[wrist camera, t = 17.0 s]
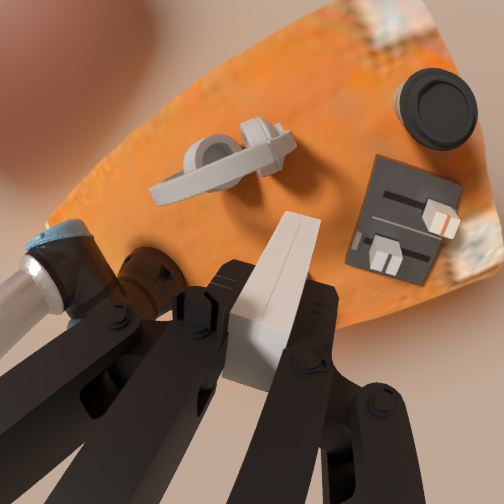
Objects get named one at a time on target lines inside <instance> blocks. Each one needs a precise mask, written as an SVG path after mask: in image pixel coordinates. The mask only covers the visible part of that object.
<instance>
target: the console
mask: <svg viewBox="0 0 504 504" xmlns="http://www.w3.org/2000/svg"><path fill="white" fill-rule="evenodd" d="M462 188H463V186H462V185H461V184H459V183H458V182H455V181H453V180H450V179H448V178H445V177H443V176H440V175H437V174H435V173H432V172H429V171H426V170H424V169H421V168H418V167H415V166H412V165H409V164H406V163H403V162H400V161H397V160H394V159H391V158H388V157H385V156H382V155H378V154H376V157H375V161H374V164H373V168H372V172H371V175H370V179H369V183H368V186H367V190H366V193H365V197H364V200H363V203H362V207H361V210H360V213H359V217H358V220H357V223H356V226H355V229H354V232H353V236H352V239H351V242H350V245H349V248H348V251H347V254H346V257H345V264H348V265H351V266H355V267H358V268H362V269H365V270H369V271H372V272H376V273H379V274H382V275H386V276H389V277H393V278H396V279H400V280H403V281H407V282H410V283H413V284H417V285H420V286H421V285H422V283H423V281H424V279H425V277H426V275H427V273H428V271H429V269H430V266H431V264H432V262H433V260H434V258H435V256H436V253H437V251H438V249H439V247H440V244H441V242H442V240H443V237H444V236H443V237H442V236H440V235H438V234H435V233H432V232H429V231H428V229H427V226H426V224H425V222H424V220H423V218H422V215H423V213H424V210H425V207H426V204H427V202H428V199H431V200H433V201H436V202H439V203H442V204H444V205H447V206H450V207H451V208H452V209H453V210H454V212H455V213H456V212H457V210H456V209H455V207H456V205H457V202H458V199H459V196H460V194H461V191H462ZM375 235H377V236H380V237H384V238H387V239H390V240H394V241H397V242H399V244H400V248H401V252H402V257H403V259H402V262H401V264H400V266H399V269H398V271H397V273H396V275H395V276H394V275H391V274H387V273H381V271H377V270H374V269H370V256H369V251H370V248H371V245H372V243H373V240H374V237H375Z"/></svg>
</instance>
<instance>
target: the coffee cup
mask: <svg viewBox="0 0 504 504" xmlns="http://www.w3.org/2000/svg"><path fill="white" fill-rule="evenodd" d="M393 105H394V110H395V112H396V114H397V116H398V118H399V120H400V121H401V122H402V124H403V125H404V126H405V127H406V129H407V131H408V132H409V133H410V135H411V136H412V137H413V138H414V139H415V140H416V141H417V142H419V143H420V144H422V145H423V146H425V147H427V148H430V149H433V150H438V151H447V150H452V149H455V148H457V147H459V146H461V145H462V144H463V143H464V142H466V141H467V140H468V138H469V137H470V136H471V135H472V133H473V131H474V129H475V126H476V123H477V117H478V109H477V103H476V100H475V97H474V95H473V92H472V91H471V89H470V88H469V86H468V85H467V84H466V83H465V82H464V81H463V80H462V79H461V78H460V77H459V76H457V75H455V74H453V73H451V72H449V71H446V70H443V69H439V68H427V69H422V70H420V71H418V72H416V73H414V74H413V75H412V76H410V77H409V78H408V79H407V80H406V81H405V82H404V83H403V84H402V85H401V86H400V87H399V88H398V89H397V91H396V93H395V95H394V99H393Z"/></svg>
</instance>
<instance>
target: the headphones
mask: <svg viewBox="0 0 504 504" xmlns="http://www.w3.org/2000/svg"><path fill="white" fill-rule="evenodd" d="M240 132H241V135H242V138H243V140H244V143H245V146H246V149H244V150H242V148H241V146H240V145H239V144H238V143H237V141H235V140H234V139H232V138H231V137H229V136H226V135H223V134H213V135H211V136H208V137H206V138H204V139H201V140H199V141H197V142H195V143H194V144H193V145H191V146H190V147H189V148H188V150H187V151H186V153H185V155H184V159H183V170H182V171H180V172H178V173H176V174H174V175H172V176H170V177H168V178H166V179H164V180H162V181H161V182H159V183H157V184H156V185H154V186H153V187H150V188H149V191H150V193H151V196H152V198H153V200H154V202H155V204H156V206H164V205H169V204H172V203H176V202H179V201H182V200H185V199H188V198H191V197H193V196H196V195H199V194H201V193H204V192H208V193H211V192H216V191H221V190H225V189H229V188H231V187H233V186H235V185H237V184H238V182H239V181H240V180H241V179H242V177H243V176H245V175H248V174H250V173H252V172H254V171H257V172H258V174H259V175H260V176H261V177H266V176H268V175H271V174H273V173H276V172H279V171H281V170H282V168H283V163H284V158H285V155H287V154H290V153H291V151H293V150H294V149H295V148H296V147H297V144H296V141H295V138H294V136H293V133H292V131H291V130H288V131H284V129H283V128H282V126H281V125H280V124H279V123H276V124H271V123H269V122H268V121H266V120H265V119H264V118H262V117H260V116H258V117H256V118H252V119H250V120H247V121H244V122H242V123H241V124H240Z"/></svg>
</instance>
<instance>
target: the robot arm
mask: <svg viewBox="0 0 504 504" xmlns="http://www.w3.org/2000/svg"><path fill="white" fill-rule="evenodd" d="M320 223H321V220H319V219H316V218H312V217H308V216H305V215H301V214H297V213H293V212H290V211H285V213H284V215H283V217H282V219H281V220H280V222H279V224H278V226H277V228H276V230H275V231H274V233H273V235H272V237H271V239H270V241H269V242H268V244H267V246H266V248H265V250H264V252H263V253H262V255H261V257H260V259H259V261H258V262H257V264H256V265H252V264H249V263H246V262H242V261H239V260H235V259H233V260H231V261H229V262H227V263H225V264H224V265H222V266H221V268H220V269H219V271H218V272H217V273H216V276H214V278H213V279H212V280H211V283H209V285H208V286H207V287H201V286H189V287H186V286H185V281H184V277H183V275H182V273H181V271H180V269H179V268H178V266H177V265H176V264H175V263H174V262H173V261H172V260H171V259H170V258H169V257H168V256H167V255H165V254H164V253H162V252H161V251H159V250H156V249H153V248H149V247H141V248H138V249H136V250H134V251H133V252H132V253H131V254H129V255H128V256H127V257H126V259H125V260H124V262H123V264H122V266H121V268H120V271H119V273H118V275H117V277H116V275H115V274H114V272H113V270H112V269H111V267H110V266H109V264H108V262H107V261H106V259H105V257H104V256H103V254H102V252H101V251H100V249H99V247H98V245H97V244H96V242H95V240H94V236H93V235H92V234H91V233H90V232H89V230H88V228H87V227H86V225H85V223H84V222H83V221H82V220H80V219H71V220H68V221H65V222H62V223H60V224H58V225H56V226H54V227H52V228H50V229H48V230H46V231H45V232H43V233H41V234H39V235H37V236H35V237H34V238H32V239H31V240H30V241H28V243H27V244H26V247H27V251H28V252H27V253H26V254H24V255H23V256H22V258H21V261H20V268H19V270H18V271H17V272H16V273H15V274H13V275H12V276H11V277H9V278H8V279H7V280H5V281H4V282H3V283H2V284H1V285H0V359H1V358H2V357H3V356H4V355H5V354H6V353H7V352H8V351H9V350H10V349H11V348H12V347H13V346H14V345H15V344H16V343H17V342H18V341H19V340H20V339H21V338H22V337H23V336H24V335H25V334H26V333H28V332H29V331H30V330H31V329H32V328H33V327H34V326H35V325H36V324H37V323H38V322H39V321H40V320H42V319H43V318H44V317H45V316H46V315H47V314H55V315H60V314H62V313H63V312H64V311H66V312H67V314H68V315H69V317H70V318H71V320H70V321H69V323H68V326H67V330H66V331H65V332H63V333H62V334H60V335H59V336H58V337H56V338H55V339H53V340H52V341H50V342H49V343H47V344H46V345H45V346H43V347H42V348H40V349H39V350H38V351H36V352H34V353H33V354H32V355H30V356H29V357H27V358H26V359H25V360H23V361H22V362H20V363H19V364H17V365H16V366H15V367H13V368H12V369H10V370H9V371H8V372H6V373H5V374H4V375H2V376H1V377H0V504H11V503H12V502H14V501H15V500H16V499H17V498H19V497H20V496H21V495H22V494H23V493H25V492H26V491H27V490H28V489H30V488H31V487H32V486H33V485H34V484H36V483H37V482H38V481H39V480H41V479H42V478H43V477H44V476H45V475H46V474H48V473H49V472H50V471H51V470H53V469H54V468H55V467H56V466H57V465H58V464H60V463H61V462H62V461H63V460H64V459H66V458H67V457H68V456H69V455H70V454H72V453H73V452H74V451H75V450H76V449H77V448H78V447H80V446H81V445H82V444H83V443H84V442H85V441H86V442H85V443H84V445H83V446H82V448H81V449H80V451H79V452H78V454H77V455H76V456H75V458H74V459H73V461H72V462H71V464H70V465H69V467H68V468H67V470H66V471H65V473H64V474H63V476H62V477H61V479H60V480H59V482H58V483H57V485H56V486H55V488H54V489H53V491H52V492H51V494H50V495H49V497H48V498H47V500H46V501H45V503H44V504H159V503H160V501H161V499H162V497H163V495H164V493H165V491H166V490H167V488H168V485H169V484H170V482H171V480H172V478H173V476H174V474H175V472H176V470H177V468H178V466H179V464H180V462H181V460H182V458H183V456H184V454H185V452H186V450H187V448H188V446H189V444H190V442H191V440H192V438H193V436H194V434H195V432H196V430H197V428H198V426H199V424H200V422H201V420H202V418H203V416H204V414H205V412H206V410H207V408H208V406H209V404H210V402H211V400H212V398H213V396H214V394H215V391H216V386H217V380H218V378H219V376H220V374H221V372H222V370H223V372H222V377H223V378H226V379H229V380H232V381H235V382H237V383H241V384H244V385H247V386H250V387H253V388H256V389H259V390H262V391H266V392H269V393H268V395H267V399H266V401H265V404H264V407H263V410H262V412H261V415H260V418H259V421H258V424H257V426H256V429H255V432H254V434H253V437H252V440H251V442H250V445H249V448H248V450H247V453H246V455H245V458H244V461H243V463H242V466H241V468H240V471H239V474H238V476H237V479H236V481H235V484H234V486H233V489H232V491H231V493H230V496H229V498H228V500H227V503H226V504H305V501H306V497H307V493H308V489H309V486H310V482H311V477H312V474H313V470H314V466H315V461H316V457H317V453H318V448H319V447H320V448H321V464H322V488H323V504H426V502H425V496H424V490H423V484H422V478H421V473H420V467H419V463H418V458H417V453H416V448H415V443H414V439H413V434H412V430H411V426H410V422H409V418H408V414H407V410H406V406H405V403H404V401H403V398H402V396H401V395H400V394H399V393H398V392H397V391H396V390H395V389H394V388H392V387H391V386H389V385H387V384H383V383H378V382H376V383H371V384H367V385H366V386H364V387H360V386H358V385H357V384H355V383H353V382H351V381H349V380H348V379H346V378H345V377H343V376H342V375H341V374H340V373H339V372H338V371H337V369H336V368H335V366H334V365H333V361H332V346H333V339H334V332H335V325H336V317H337V309H338V302H339V297H338V294H337V292H336V290H335V288H334V287H333V286H330V285H326V284H323V283H319V282H316V281H312V280H309V279H306V277H307V273H308V269H309V266H310V262H311V258H312V254H313V250H314V247H315V243H316V239H317V235H318V231H319V227H320ZM170 310H172V314H173V320H171V321H155V320H156V319H157V318H158V317H160V316H161V315H163V314H165V313H166V312H168V311H170Z"/></svg>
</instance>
